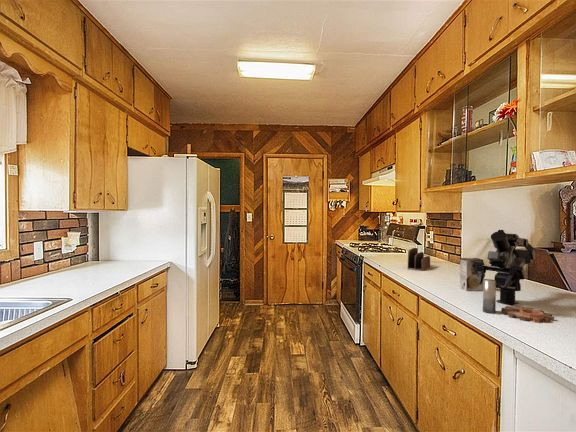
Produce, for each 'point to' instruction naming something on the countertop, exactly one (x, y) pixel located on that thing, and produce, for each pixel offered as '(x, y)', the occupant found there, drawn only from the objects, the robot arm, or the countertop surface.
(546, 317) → the sprocket
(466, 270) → the coffee box
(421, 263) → the letter holder
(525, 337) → the countertop surface
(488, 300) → the drive pin
